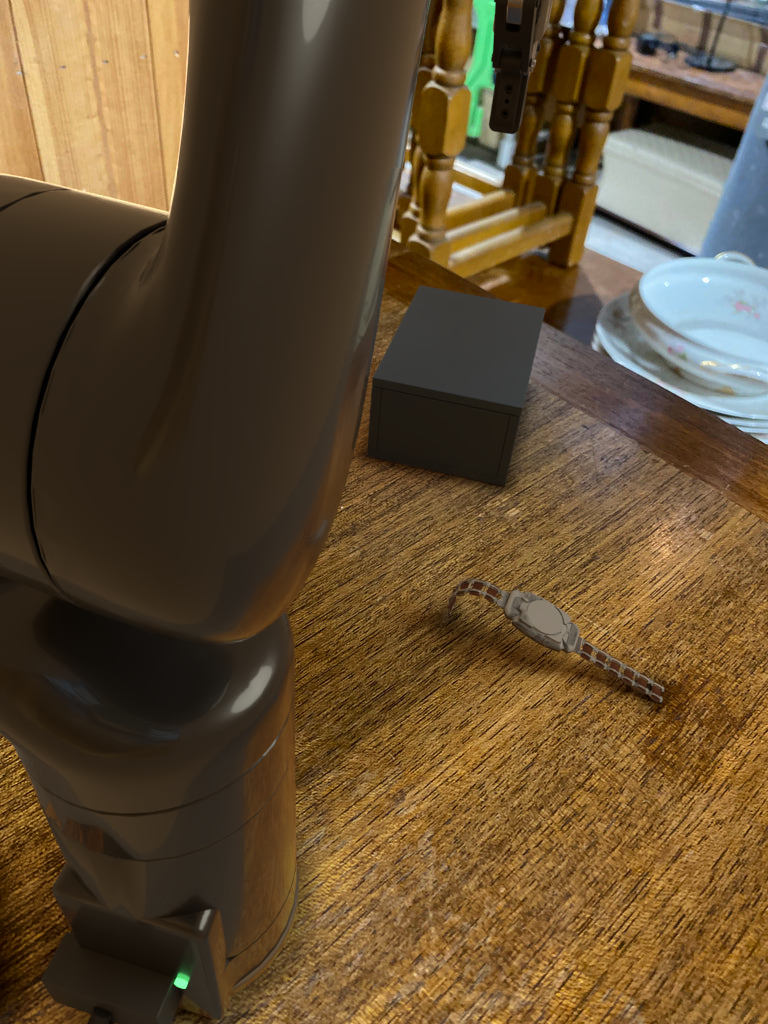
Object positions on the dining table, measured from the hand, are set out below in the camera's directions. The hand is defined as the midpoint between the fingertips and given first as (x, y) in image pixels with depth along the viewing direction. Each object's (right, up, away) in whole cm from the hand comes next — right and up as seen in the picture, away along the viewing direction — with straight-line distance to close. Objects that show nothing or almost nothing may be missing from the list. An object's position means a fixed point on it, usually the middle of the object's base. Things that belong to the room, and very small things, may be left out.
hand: (504, 130), depth 57 cm
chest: (-3, -20, +12) cm, 23 cm away
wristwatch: (+2, -38, -7) cm, 38 cm away
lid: (-2, -14, +8) cm, 16 cm away
